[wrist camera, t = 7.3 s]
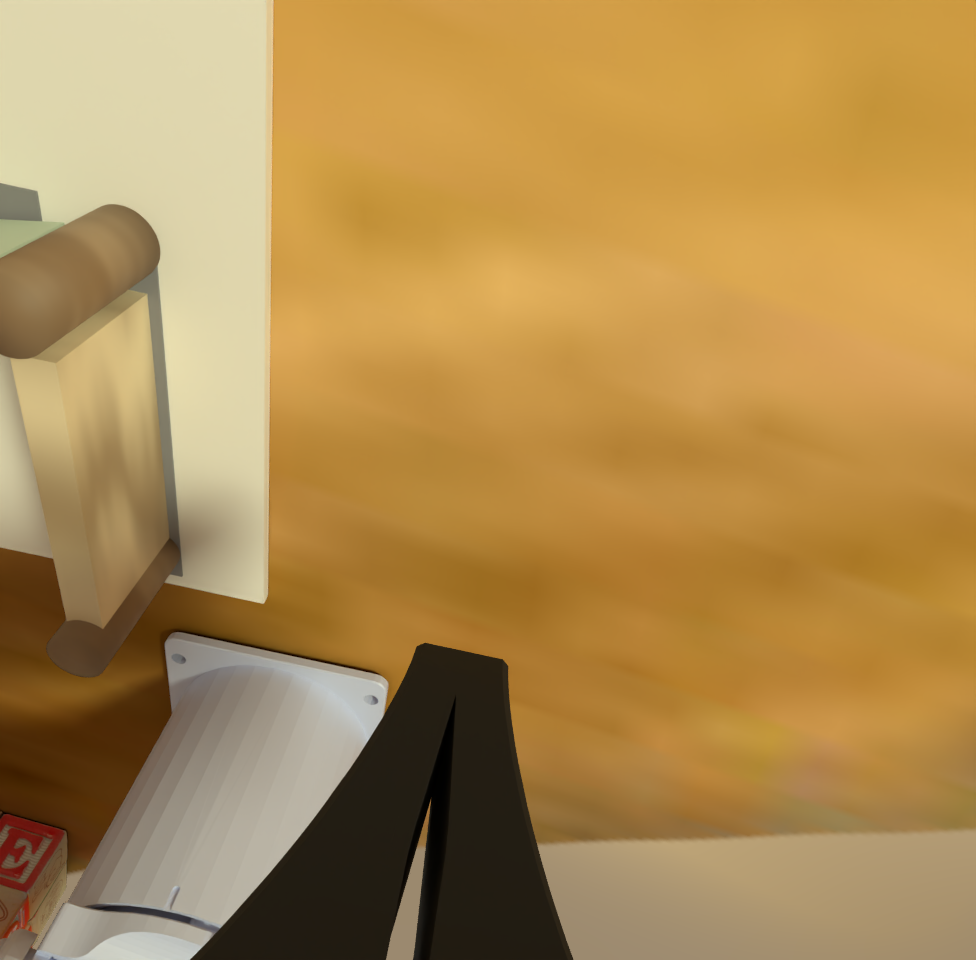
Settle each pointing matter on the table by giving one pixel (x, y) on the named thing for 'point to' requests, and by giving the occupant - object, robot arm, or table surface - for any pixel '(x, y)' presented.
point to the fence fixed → (91, 422)
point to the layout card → (181, 234)
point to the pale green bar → (22, 233)
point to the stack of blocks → (30, 873)
